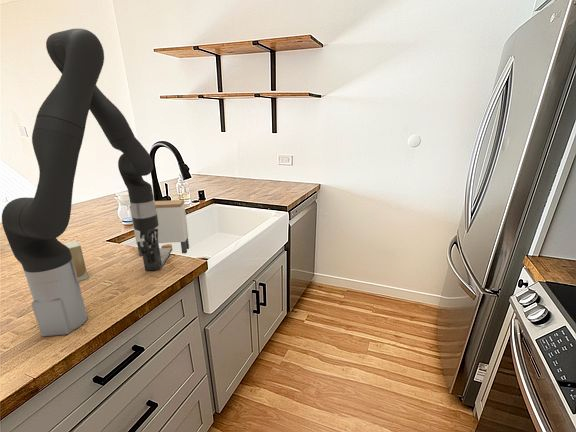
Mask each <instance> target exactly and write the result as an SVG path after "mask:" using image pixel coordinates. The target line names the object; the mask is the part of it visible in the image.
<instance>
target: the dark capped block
mask: <svg viewBox="0 0 576 432" xmlns="http://www.w3.org/2000/svg"><path fill="white" fill-rule="evenodd" d="M159 244H160V243H158V240H153V245H154V246H153V247H152V248H153V256H154V263H153V264H148V263H147V259H146V254H145V255H142V256H141V257H142V260H143V266H144V271H153V270H154V271H155V270H156V271H157V270H161V268H162V267H163V265H164V263H166V261H167V260H168V258H169V256H170V254H171V253H172V252H173V247H172V248H161V247H160V245H159ZM148 245H150V244H148ZM149 249H150V248H149Z"/></svg>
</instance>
